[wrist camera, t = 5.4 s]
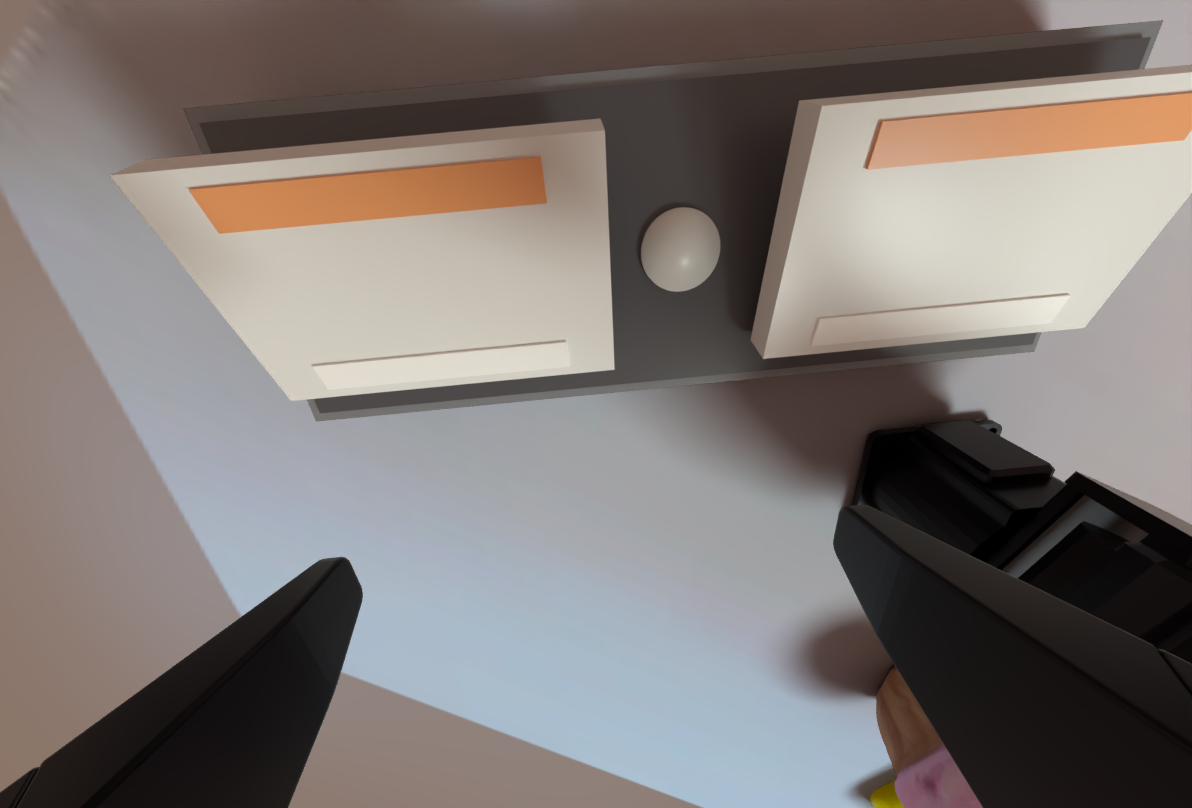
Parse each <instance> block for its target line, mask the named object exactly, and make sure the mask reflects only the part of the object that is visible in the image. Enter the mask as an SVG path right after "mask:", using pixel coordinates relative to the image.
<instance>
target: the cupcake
mask: <svg viewBox="0 0 1192 808" xmlns="http://www.w3.org/2000/svg"><path fill="white" fill-rule="evenodd" d="M876 699H877V702H876V714H877V722H878V726H879V730H880V733H881V736H882V739H883V742H884V744H885V746H886V749H887V752H888V755H889V757H890V760H891V763H892V766H893V768H894V770H895V773H896V774H897V778H896V779H895V783H894V785H895V791H896V794H897V796H898V798H899V800H900V802H901V804H902V805H903V807H904V808H983V807H982V806H981V804H980V802H979V801H978V799H977V798H976V796H975V794H974V793H973V791H972V789H971V788H970V786H969V785H968V783H967V781H966V780H965V778H964V776H963V775H962V773H961V772H960V770H959V768H958V767H957V765H956V764H955V762H954V760H953V759H952V757H951V755H950V754H949V752H948V751H947V749H946V747H945V746H944V744H943V743H942V741H941V739H940V738H939V736H938V734H937V733H936V731H935V730H934V728H933V726H932V725H931V723H930V721H929V720H928V718H927V717H926V715H925V713H924V712H923V710H922V709H921V707H920V705H919V704H918V702H917V700H916V699H915V697H914V696H913V694H912V692H911V691H910V689H909V688H908V686H907V684H906V683H905V681H904V679H903V678H902V676H901V675H900V673H899V671H898V670H897V668H896V667H894V668H893V669H891V671H890V672H889V674H888V675H887V677H886V678H885V680H884V682H883V684H882V686H881V688H880V689H879V691H878V693H877V697H876Z"/></svg>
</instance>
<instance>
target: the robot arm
mask: <svg viewBox="0 0 1192 808" xmlns="http://www.w3.org/2000/svg"><path fill="white" fill-rule="evenodd" d="M1001 431H1002V427H1001V425H1000V424H998V423H996V422H994V421H992V420H979V421H971V420H965V421H955V422H945V423H935V424H924V425H921V426H918V427H908V428H898V429H888V430H879V431H875V432H873V433H872V434H871V435H870V436H869V437H868V439H867V443H866V447H865V451H864V456H863V460H862V464H861V469H860V473H859V477H858V482H857V486H856V490H855V495H854V499H853V503H852V506H845V507H843V508H842V509H841V510H840V512H839V516H838V521H837V525H836V530H835V535H834V540H833V545H834V550H835V553H836V555H837V557H838V559H839V561H840V563H841V565H842V567H843V569H844V571H845V573H846V575H847V577H848V579H849V581H850V583H851V585H852V588H853V590H854V592H855V594H856V596H857V598H858V600H859V602H860V604H861V606H862V608H863V610H864V612H865V614H866V616H867V618H868V620H869V622H870V624H871V626H872V627H873V629H874V631H875V633H876V635H877V637H878V638H879V640H880V642H881V644H882V645H883V647H884V649H885V650H886V652H887V654H888V655H889V657H890V658H891V660H892V662H893V663H894V665H895V666H896V668H897V670H898V671H899V673H900V675H901V676H902V678H903V679H904V681H905V683H906V684H907V686H908V688H909V689H910V691H911V692H912V694H913V696H914V697H915V699H916V700H917V702H918V704H919V705H920V707H921V709H922V710H923V712H924V713H925V715H926V717H927V718H928V720H929V721H930V723H931V725H932V726H933V728H934V730H935V731H936V733H937V734H938V736H939V738H940V739H941V741H942V743H943V744H944V746H945V747H946V749H947V751H948V752H949V754H950V755H951V757H952V759H953V760H954V762H955V764H956V765H957V767H958V768H959V770H960V772H961V773H962V775H963V776H964V778H965V780H966V781H967V783H968V785H969V786H970V788H971V789H972V791H973V793H974V794H975V796H976V798H977V799H978V801H979V802H980V804H981V806H982V807H983V808H1192V525H1191V524H1189V523H1187V522H1185V521H1183V520H1181V519H1179V518H1177V517H1175V516H1173V515H1171V514H1169V513H1167V512H1165V511H1163V510H1161V509H1159V508H1157V507H1155V506H1153V505H1151V504H1149V503H1147V502H1144V501H1142V500H1140V499H1138V498H1135V497H1133V496H1131V495H1129V494H1126V493H1124V492H1122V491H1120V490H1117V489H1115V488H1113V487H1111V486H1108V485H1106V484H1104V483H1101V482H1099V481H1097V480H1095V479H1092V478H1090V477H1088V476H1086V475H1083V474H1081V473H1079V472H1077V471H1076V472H1075V473H1073V474H1072V475H1071V476H1070V477H1069V478H1068V479H1067V480H1066V481H1065V483H1064V482H1062V481H1060V480H1059V479H1057V478H1055V477H1053V473H1054V471H1055V469H1054V468H1053V467H1052V466H1051V464H1050V463H1048V462H1046V461H1044V460H1042V459H1041V458H1039V457H1037V456H1035V455H1033V454H1031V453H1030V452H1028V451H1026V450H1024V449H1022V448H1021V447H1019V446H1017V445H1015V444H1013V443H1011V442H1010V441H1008V440H1006V439H1004V438H1002V437H1000V434H1001ZM880 439H881V441H880V442H879V443H878V441H879V440H880ZM362 597H363V592H362V587H361V585H360V583H359V581H358V579H357V576H356V574H355V572H354V570H353V568H352V565H351V563H350V562H349V560H348V559H346V558H345V557H336V558H326V559H322V560H319V561H318V562H316V563H315V564H313V565H312V566H311V567H309V568H308V569H307V570H305V571H304V572H302V573H301V574H300V575H298V576H297V577H296V578H294V579H293V580H291V581H290V582H289V583H287V584H286V585H285V586H283V587H282V588H280V589H279V590H278V591H276V592H275V593H274V594H272V595H271V596H269V597H268V598H267V599H265V600H264V601H263V602H261V603H260V604H258V605H257V606H256V607H254V608H253V609H252V610H250V611H249V612H247V613H246V614H245V615H243V616H242V617H241V618H239V619H238V620H236V621H235V622H234V623H232V624H231V625H230V626H228V627H227V628H225V629H224V630H223V631H221V632H220V633H219V634H217V635H216V636H214V637H213V638H212V639H210V640H209V641H208V642H206V643H205V644H203V645H202V646H201V647H199V648H198V649H197V650H195V651H194V652H192V653H191V654H190V655H189V656H187V657H186V658H184V659H183V660H182V661H180V662H179V663H177V664H176V665H175V666H173V667H172V668H171V669H169V670H168V671H166V672H165V673H164V674H162V675H161V676H160V677H158V678H157V679H156V680H154V681H153V682H151V683H150V684H149V685H147V686H146V687H144V688H143V689H142V690H140V691H139V692H138V693H136V694H135V695H133V696H132V697H131V698H129V699H128V700H127V701H125V702H124V703H122V704H121V705H120V706H119V707H117V708H116V709H114V710H113V711H111V712H110V713H109V714H107V715H106V716H105V717H103V718H102V719H101V720H99V721H98V722H96V723H95V724H94V725H92V726H91V727H89V728H88V729H87V730H85V731H84V732H83V733H81V734H80V735H78V736H77V737H76V738H74V739H73V740H72V741H70V742H69V743H67V744H66V745H65V746H63V747H62V748H61V749H59V750H58V751H57V752H55V753H54V754H52V755H51V756H50V757H48V758H47V759H46V760H44V761H43V762H42V764H41V765H40V767H36V768H33V769H32V770H30V771H29V772H27V773H26V774H25V775H23V776H22V777H21V778H19V779H18V780H16V781H15V782H14V783H12V784H11V785H10V786H8V787H7V788H6V789H4V790H3V791H1V792H0V808H288V806H289V804H290V801H291V799H292V796H293V793H294V792H295V789H296V786H297V784H298V782H299V779H300V777H301V774H302V772H303V769H304V767H305V764H306V762H307V759H308V757H309V754H310V752H311V749H312V747H313V745H314V742H315V739H316V737H317V735H318V732H319V730H320V727H321V725H322V722H323V720H324V717H325V715H326V712H327V710H328V707H329V705H330V702H331V699H332V697H333V694H334V692H335V689H336V685H337V683H338V680H339V677H340V673H341V670H342V667H343V663H344V660H345V657H346V653H347V650H348V647H349V643H350V640H351V637H352V633H353V630H354V627H355V623H356V620H357V617H358V613H359V610H360V607H361V603H362Z"/></svg>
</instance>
